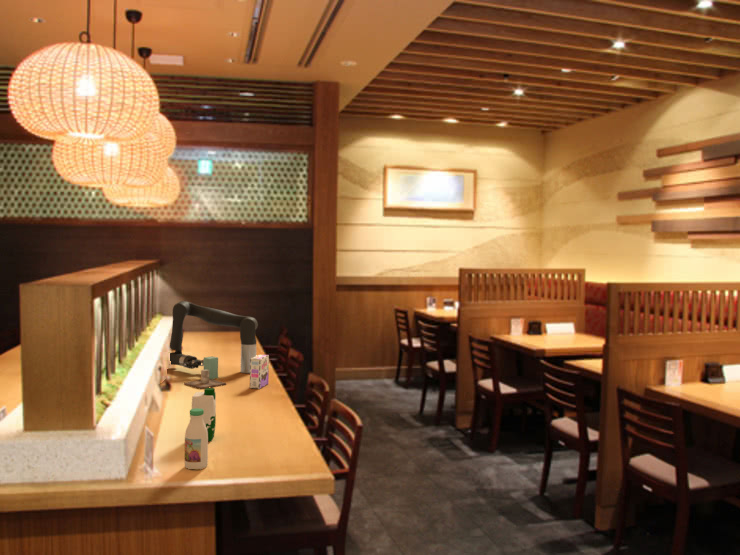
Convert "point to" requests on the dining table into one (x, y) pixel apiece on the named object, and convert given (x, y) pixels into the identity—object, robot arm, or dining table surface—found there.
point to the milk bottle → (196, 441)
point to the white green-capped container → (207, 408)
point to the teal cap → (211, 366)
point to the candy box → (259, 371)
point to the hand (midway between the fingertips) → (204, 365)
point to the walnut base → (200, 385)
